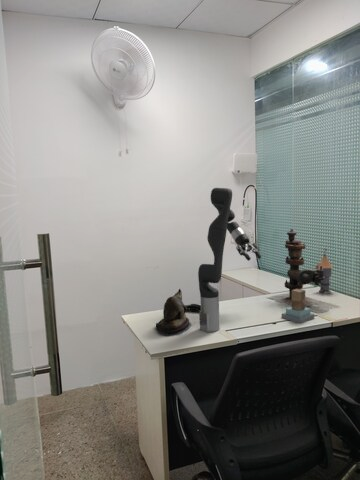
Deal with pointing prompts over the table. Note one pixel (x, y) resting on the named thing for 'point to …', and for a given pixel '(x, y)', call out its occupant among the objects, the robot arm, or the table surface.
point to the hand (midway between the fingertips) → (254, 258)
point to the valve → (301, 277)
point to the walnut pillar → (298, 299)
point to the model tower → (325, 274)
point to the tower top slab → (298, 312)
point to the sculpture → (173, 316)
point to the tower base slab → (297, 319)
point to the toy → (193, 307)
